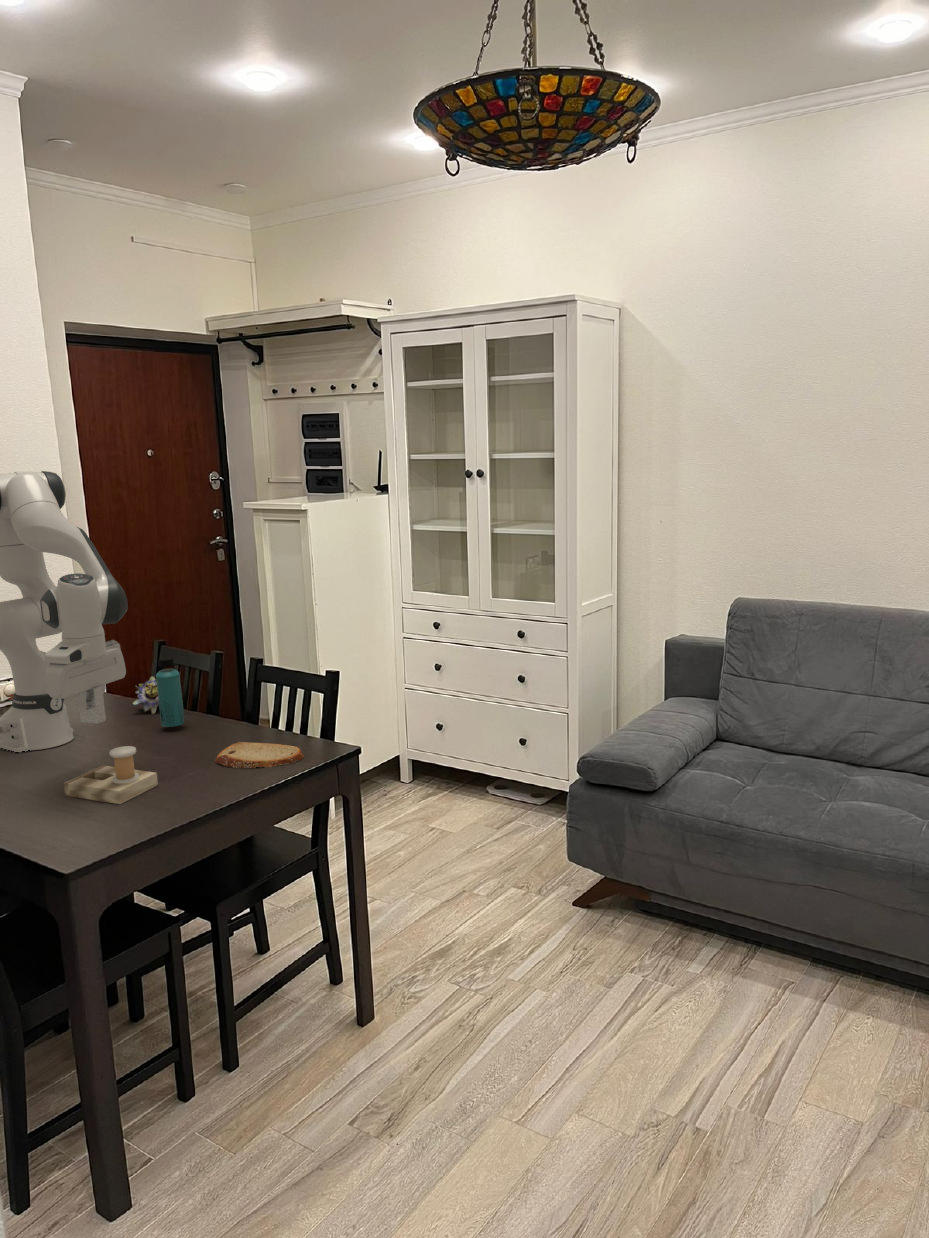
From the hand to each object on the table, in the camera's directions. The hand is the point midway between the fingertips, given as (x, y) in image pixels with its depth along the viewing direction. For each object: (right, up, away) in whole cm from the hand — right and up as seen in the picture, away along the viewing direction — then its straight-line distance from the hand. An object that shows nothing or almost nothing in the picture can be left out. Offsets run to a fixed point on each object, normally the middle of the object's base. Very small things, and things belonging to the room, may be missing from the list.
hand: (91, 707), depth 212 cm
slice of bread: (+33, -15, +20) cm, 42 cm away
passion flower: (-7, -7, +67) cm, 68 cm away
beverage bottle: (+4, -10, +47) cm, 48 cm away
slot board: (+4, -19, +2) cm, 19 cm away
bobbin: (+8, -16, 0) cm, 18 cm away
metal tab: (0, -3, +1) cm, 3 cm away
